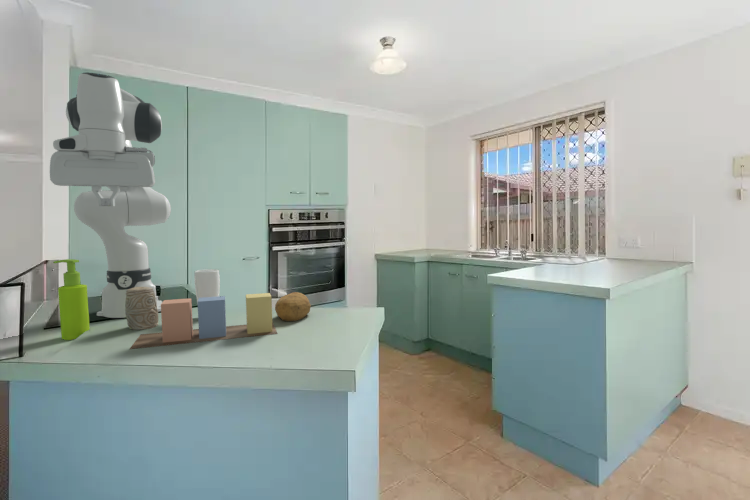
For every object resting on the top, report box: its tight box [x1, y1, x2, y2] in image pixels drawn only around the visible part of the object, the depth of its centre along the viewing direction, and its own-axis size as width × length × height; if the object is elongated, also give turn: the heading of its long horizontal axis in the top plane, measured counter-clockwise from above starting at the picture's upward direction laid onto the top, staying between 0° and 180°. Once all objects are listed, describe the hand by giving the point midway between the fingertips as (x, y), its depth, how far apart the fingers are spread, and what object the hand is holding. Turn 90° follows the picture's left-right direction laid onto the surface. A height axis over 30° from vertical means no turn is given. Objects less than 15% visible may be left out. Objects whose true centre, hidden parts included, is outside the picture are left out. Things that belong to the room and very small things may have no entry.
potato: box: [274, 291, 312, 322], centre depth 115 cm, size 10×14×8 cm
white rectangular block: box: [194, 268, 221, 305], centre depth 117 cm, size 7×7×15 cm
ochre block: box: [245, 292, 273, 334], centre depth 101 cm, size 5×6×9 cm
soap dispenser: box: [52, 258, 91, 341], centre depth 102 cm, size 6×7×20 cm
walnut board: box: [129, 321, 278, 350], centre depth 99 cm, size 12×32×2 cm, turn 110°
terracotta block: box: [160, 298, 194, 343], centre depth 95 cm, size 5×6×9 cm
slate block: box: [197, 295, 227, 339], centre depth 98 cm, size 5×6×9 cm
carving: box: [125, 287, 159, 331], centre depth 106 cm, size 6×8×12 cm
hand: (107, 206), depth 93 cm, fingers closed
